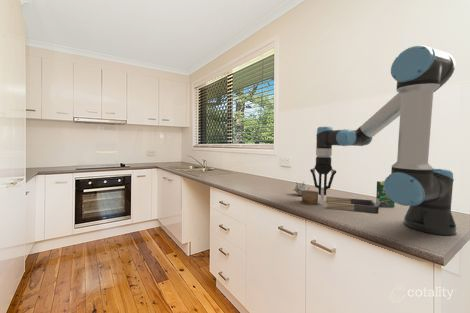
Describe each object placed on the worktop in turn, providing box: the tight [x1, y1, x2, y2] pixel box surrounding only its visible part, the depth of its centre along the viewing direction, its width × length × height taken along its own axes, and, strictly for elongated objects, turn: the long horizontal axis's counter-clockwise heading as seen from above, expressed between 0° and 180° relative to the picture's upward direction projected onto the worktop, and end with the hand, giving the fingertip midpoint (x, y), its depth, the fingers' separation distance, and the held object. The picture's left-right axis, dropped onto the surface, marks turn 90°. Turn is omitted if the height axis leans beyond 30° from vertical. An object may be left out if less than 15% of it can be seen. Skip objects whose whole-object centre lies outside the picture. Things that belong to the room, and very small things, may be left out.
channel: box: [325, 195, 380, 214], centre depth 112 cm, size 13×22×3 cm, turn 69°
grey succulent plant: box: [292, 182, 310, 197], centre depth 136 cm, size 9×8×10 cm
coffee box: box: [375, 180, 396, 208], centre depth 113 cm, size 8×3×13 cm, turn 90°
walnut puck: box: [301, 189, 319, 206], centre depth 120 cm, size 8×8×6 cm
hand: (322, 201), depth 117 cm, fingers closed
